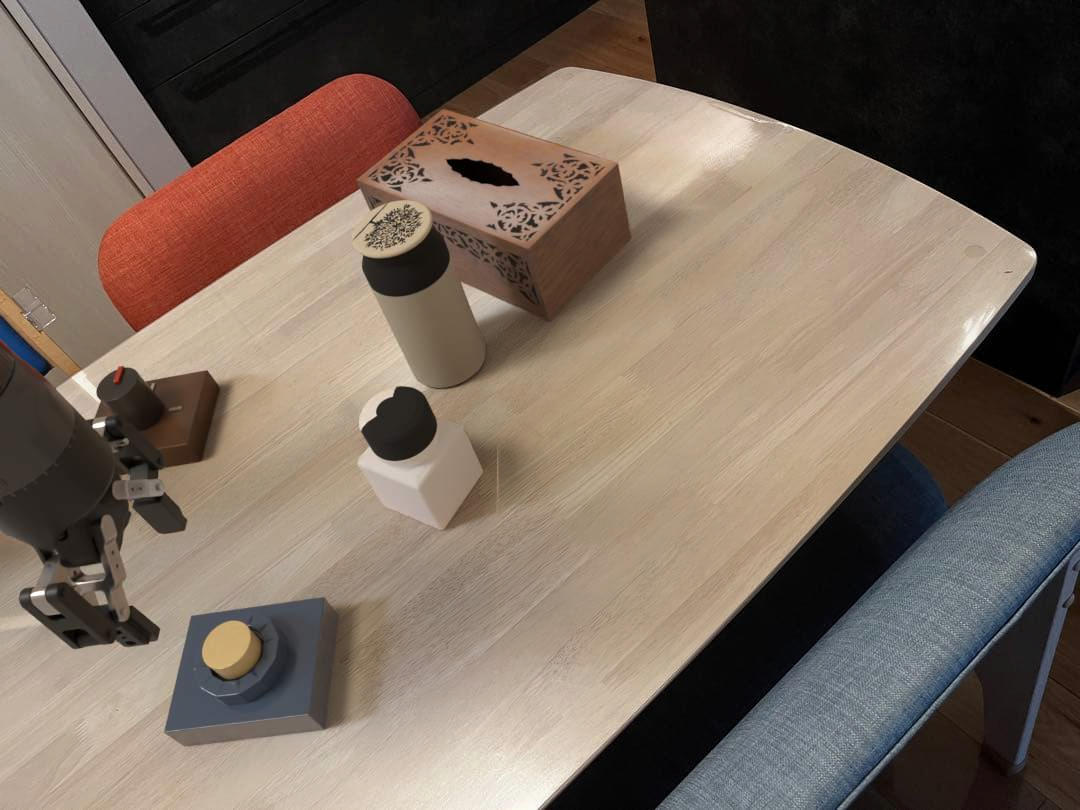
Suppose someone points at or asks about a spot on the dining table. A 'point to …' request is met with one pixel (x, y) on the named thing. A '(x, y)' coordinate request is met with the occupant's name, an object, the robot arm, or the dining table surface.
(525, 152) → the tissue box cover
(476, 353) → the travel mug
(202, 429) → the dial panel
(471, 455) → the medicine bottle
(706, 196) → the dining table surface
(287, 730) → the button housing
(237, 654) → the tan button cap
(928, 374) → the dining table surface
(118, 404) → the dial
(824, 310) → the dining table surface
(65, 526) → the robot arm
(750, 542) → the dining table surface
